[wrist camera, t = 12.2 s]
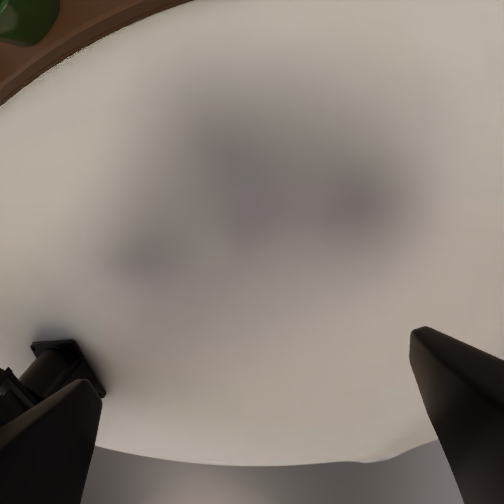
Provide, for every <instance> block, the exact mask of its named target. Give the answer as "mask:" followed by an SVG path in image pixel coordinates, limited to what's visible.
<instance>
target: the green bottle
mask: <svg viewBox="0 0 504 504" xmlns="http://www.w3.org/2000/svg"><path fill="white" fill-rule="evenodd" d="M59 8H60V1H59V0H0V42H2V43H6V44H11V45H15V46H19V47H23V48H26V47H30V46H32V45H34V44H36V43H37V42H38V41H40V40H41V39H42V38H43V37H44V36H45V35H46V34H47V32H48V31H49V30H50V28H51V27H52V25H53V24H54V22H55V20H56V18H57V15H58V13H59Z"/></svg>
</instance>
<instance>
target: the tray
mask: <svg viewBox="0 0 504 504" xmlns="http://www.w3.org/2000/svg"><path fill="white" fill-rule="evenodd" d="M59 1H60V8H59V13H58V15H57V18H56V20H55V22H54V24H53V25H52V27H51V28H50V30H49V31H48V32H47V34H46V35H45V36H44V37H43V38H42V39H41V40H40V41H38V42H37V43H36V44H34V45H32V46H30V47H26V48H23V47H19V46H15V45H11V44H6V43H2V42H0V106H1V105H2V104H3V103H4V102H5V101H6V100H8V99H9V98H10V97H11V96H13V95H14V94H15V93H16V92H18V91H19V90H20V89H22V88H23V87H24V86H25V85H27V84H28V83H29V82H31V81H32V80H34V79H35V78H36V77H38V76H39V75H41V74H42V73H43V72H45V71H46V70H48V69H49V68H51V67H52V66H54V65H55V64H57V63H59V62H60V61H62V60H63V59H65V58H66V57H68V56H70V55H71V54H73V53H75V52H76V51H78V50H80V49H82V48H83V47H85V46H87V45H89V44H91V43H92V42H94V41H96V40H98V39H100V38H102V37H104V36H106V35H108V34H110V33H112V32H114V31H116V30H118V29H120V28H122V27H124V26H126V25H129V24H131V23H133V22H135V21H138V20H140V19H142V18H145V17H147V16H150V15H152V14H155V13H157V12H160V11H162V10H165V9H168V8H170V7H173V6H176V5H179V4H182V3H185V2H188V1H191V0H59Z"/></svg>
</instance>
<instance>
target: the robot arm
mask: <svg viewBox="0 0 504 504" xmlns="http://www.w3.org/2000/svg"><path fill="white" fill-rule="evenodd" d="M30 347H31V349H32V351H33V353H34V355H35V356H36V358H37V359H36V360H35V361H34V362H33V363H32V364H31V365H30V366H29V368H28V369H27V370H26V371H25V372H24V373H23V374H22V376H21V377H20V378H19V379H18V378H17V377H16V376H15V375H14V374H13V373H12V372H13V371H12V370H11V369H10V368H9V367H8V368H7V369H6V370H5V371H4V369H1V368H0V504H80V502H81V498H82V494H83V489H84V485H85V481H86V477H87V473H88V469H89V465H90V462H91V458H92V454H93V450H94V446H95V441H96V436H97V431H98V425H99V420H100V415H101V410H102V400H101V398H104V397H105V395H106V392H105V390H104V389H103V387H102V386H101V384H100V383H99V381H98V379H97V378H96V376H95V375H94V373H93V371H92V370H91V368H90V366H89V365H88V363H87V361H86V359H85V358H84V356H83V354H82V352H81V351H80V349H79V347H78V345H77V344H76V342H75V341H73V340H59V341H47V342H34V343H32V344H31V346H30ZM409 359H410V364H411V367H412V370H413V373H414V375H415V378H416V381H417V384H418V387H419V390H420V393H421V396H422V399H423V402H424V405H425V408H426V411H427V414H428V416H429V418H430V421H431V423H432V425H433V427H434V429H435V432H436V434H437V436H438V438H439V441H440V443H441V445H442V448H443V450H444V452H445V455H446V457H447V459H448V462H449V464H450V467H451V470H452V472H453V475H454V477H455V480H456V482H457V485H458V488H459V490H460V493H461V496H462V498H463V501H464V504H504V360H502V359H499V358H497V357H495V356H493V355H490V354H488V353H486V352H484V351H481V350H479V349H477V348H475V347H473V346H470V345H468V344H466V343H464V342H461V341H459V340H457V339H455V338H452V337H450V336H448V335H446V334H443V333H441V332H439V331H437V330H434V329H432V328H430V327H427V326H424V327H421V328H418V329H414V330H413V331H412V332H411V335H410V351H409Z"/></svg>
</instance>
